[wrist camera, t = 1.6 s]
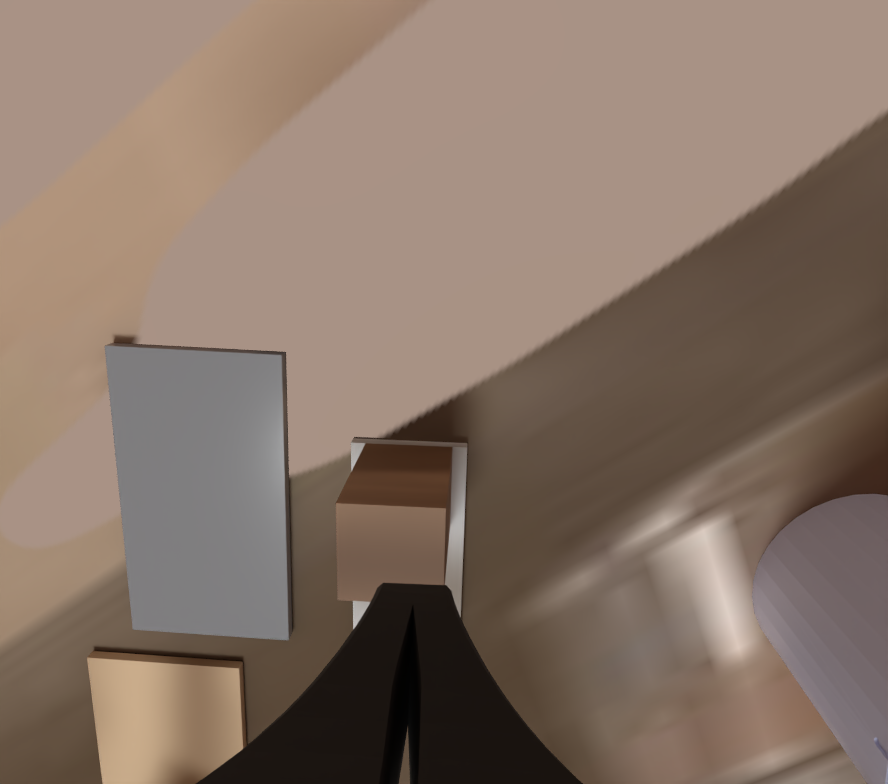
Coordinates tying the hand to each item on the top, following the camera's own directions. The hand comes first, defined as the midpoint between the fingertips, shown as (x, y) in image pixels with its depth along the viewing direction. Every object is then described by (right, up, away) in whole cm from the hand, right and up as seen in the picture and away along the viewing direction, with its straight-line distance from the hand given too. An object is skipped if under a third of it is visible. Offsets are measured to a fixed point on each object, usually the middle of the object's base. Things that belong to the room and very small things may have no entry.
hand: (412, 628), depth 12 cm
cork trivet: (-11, -15, +15) cm, 24 cm away
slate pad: (-8, +1, +11) cm, 14 cm away
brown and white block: (-1, -1, +11) cm, 12 cm away
